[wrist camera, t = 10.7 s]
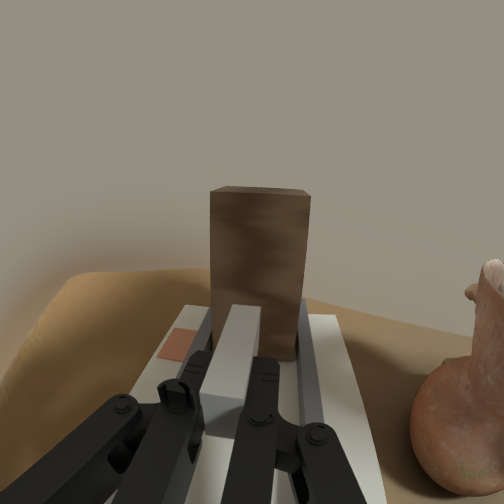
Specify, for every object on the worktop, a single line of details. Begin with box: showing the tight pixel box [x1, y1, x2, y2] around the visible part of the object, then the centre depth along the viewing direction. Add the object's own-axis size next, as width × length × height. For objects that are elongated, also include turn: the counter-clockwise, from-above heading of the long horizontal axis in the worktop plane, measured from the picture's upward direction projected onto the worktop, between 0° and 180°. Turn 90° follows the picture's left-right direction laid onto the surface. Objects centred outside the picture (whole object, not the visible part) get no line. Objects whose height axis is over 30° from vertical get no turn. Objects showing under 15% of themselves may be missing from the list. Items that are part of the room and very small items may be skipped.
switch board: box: [104, 299, 387, 504], centre depth 17 cm, size 18×30×4 cm, turn 175°
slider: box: [210, 186, 311, 361], centre depth 23 cm, size 7×6×14 cm
